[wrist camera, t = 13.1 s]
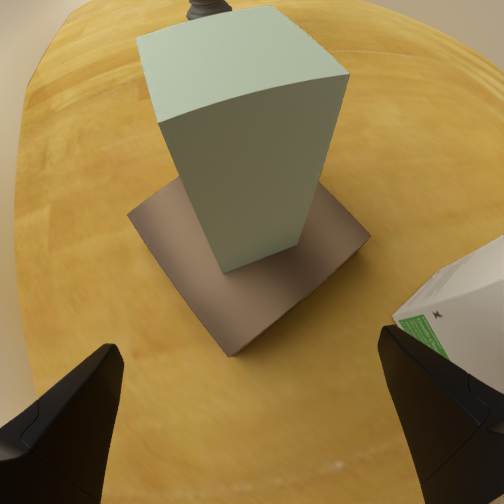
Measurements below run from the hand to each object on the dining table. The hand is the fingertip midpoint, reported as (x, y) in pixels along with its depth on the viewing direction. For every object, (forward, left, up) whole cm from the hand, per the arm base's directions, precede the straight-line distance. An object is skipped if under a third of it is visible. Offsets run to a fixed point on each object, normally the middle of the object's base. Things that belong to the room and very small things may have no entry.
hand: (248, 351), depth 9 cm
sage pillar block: (+5, +6, -8) cm, 11 cm away
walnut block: (+5, +7, -11) cm, 14 cm away
